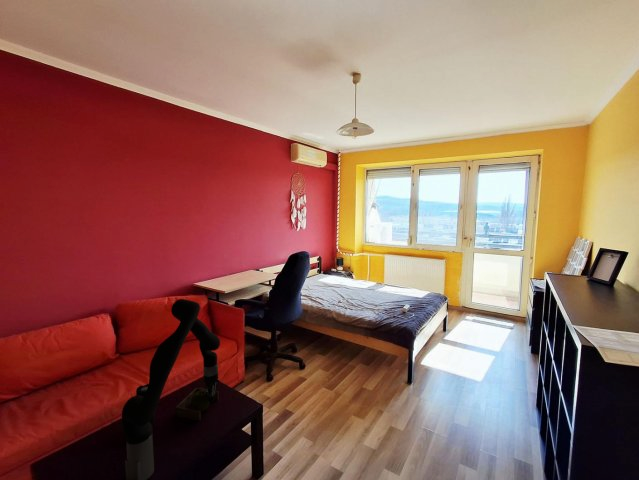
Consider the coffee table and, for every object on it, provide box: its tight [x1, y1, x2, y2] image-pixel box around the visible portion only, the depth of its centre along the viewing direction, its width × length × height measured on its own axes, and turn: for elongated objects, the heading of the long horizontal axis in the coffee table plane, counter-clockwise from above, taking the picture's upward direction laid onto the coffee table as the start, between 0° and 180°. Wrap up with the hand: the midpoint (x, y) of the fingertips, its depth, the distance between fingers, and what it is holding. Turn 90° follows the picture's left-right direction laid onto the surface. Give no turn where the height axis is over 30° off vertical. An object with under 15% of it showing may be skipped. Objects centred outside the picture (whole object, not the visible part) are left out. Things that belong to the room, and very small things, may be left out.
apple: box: [190, 390, 211, 413], centre depth 162 cm, size 10×10×11 cm
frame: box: [174, 387, 220, 422], centre depth 164 cm, size 18×14×5 cm
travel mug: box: [135, 383, 155, 427], centre depth 149 cm, size 8×8×20 cm
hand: (211, 401), depth 162 cm, fingers closed
